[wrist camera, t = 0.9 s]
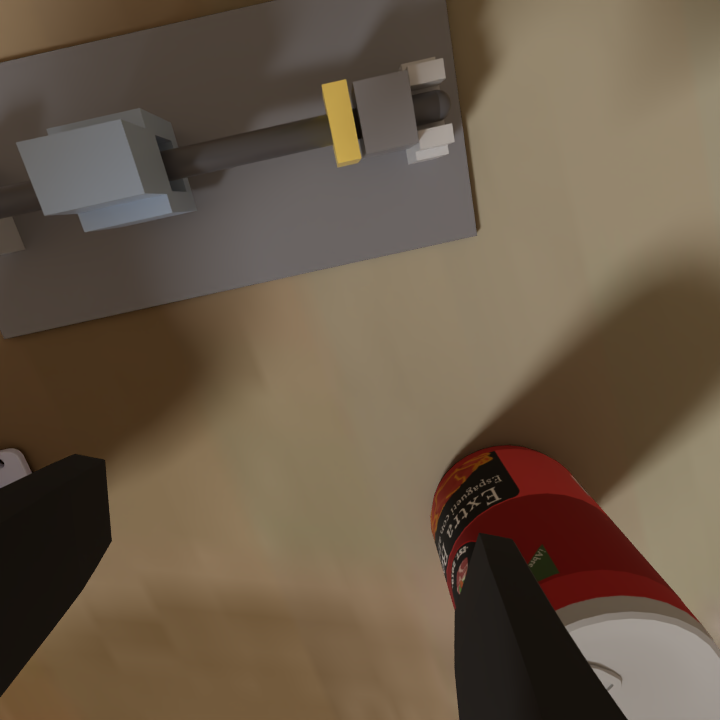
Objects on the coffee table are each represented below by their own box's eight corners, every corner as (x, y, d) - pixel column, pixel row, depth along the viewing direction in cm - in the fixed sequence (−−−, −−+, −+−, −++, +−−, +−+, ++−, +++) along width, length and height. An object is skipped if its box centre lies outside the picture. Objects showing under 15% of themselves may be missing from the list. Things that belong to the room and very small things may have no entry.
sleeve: (122, 226, 20) (52, 236, 15) (92, 140, 19) (6, 119, 14) (197, 210, 20) (151, 214, 15) (170, 122, 19) (112, 95, 14)
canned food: (459, 421, 25) (553, 585, 14) (602, 465, 26) (785, 646, 15) (404, 546, 27) (450, 770, 16) (538, 582, 28) (662, 812, 17)
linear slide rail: (8, 337, 22) (-63, 367, 18) (-103, 89, 19) (-217, 60, 15) (475, 235, 22) (506, 243, 18) (438, -34, 19) (467, -97, 15)
